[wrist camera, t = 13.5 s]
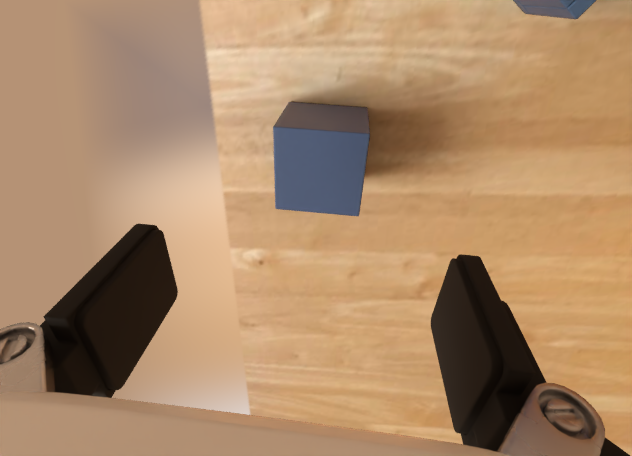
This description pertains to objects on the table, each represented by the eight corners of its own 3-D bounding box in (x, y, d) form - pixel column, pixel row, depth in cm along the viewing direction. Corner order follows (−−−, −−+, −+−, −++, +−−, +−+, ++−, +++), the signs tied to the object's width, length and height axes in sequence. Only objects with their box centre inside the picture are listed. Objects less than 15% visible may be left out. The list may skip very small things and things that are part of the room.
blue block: (288, 101, 19) (273, 126, 16) (367, 107, 19) (370, 133, 16) (288, 173, 22) (275, 209, 18) (358, 179, 22) (358, 216, 18)
